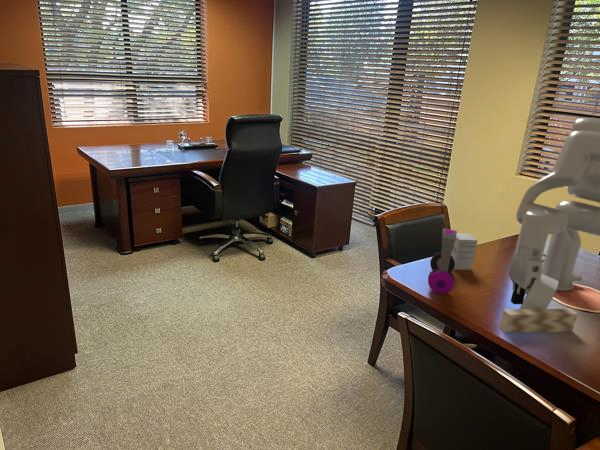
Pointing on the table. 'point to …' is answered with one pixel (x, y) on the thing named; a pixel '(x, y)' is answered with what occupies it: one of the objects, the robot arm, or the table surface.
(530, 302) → the small box
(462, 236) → the supplement box
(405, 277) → the table surface
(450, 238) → the headphones
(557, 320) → the birch board
